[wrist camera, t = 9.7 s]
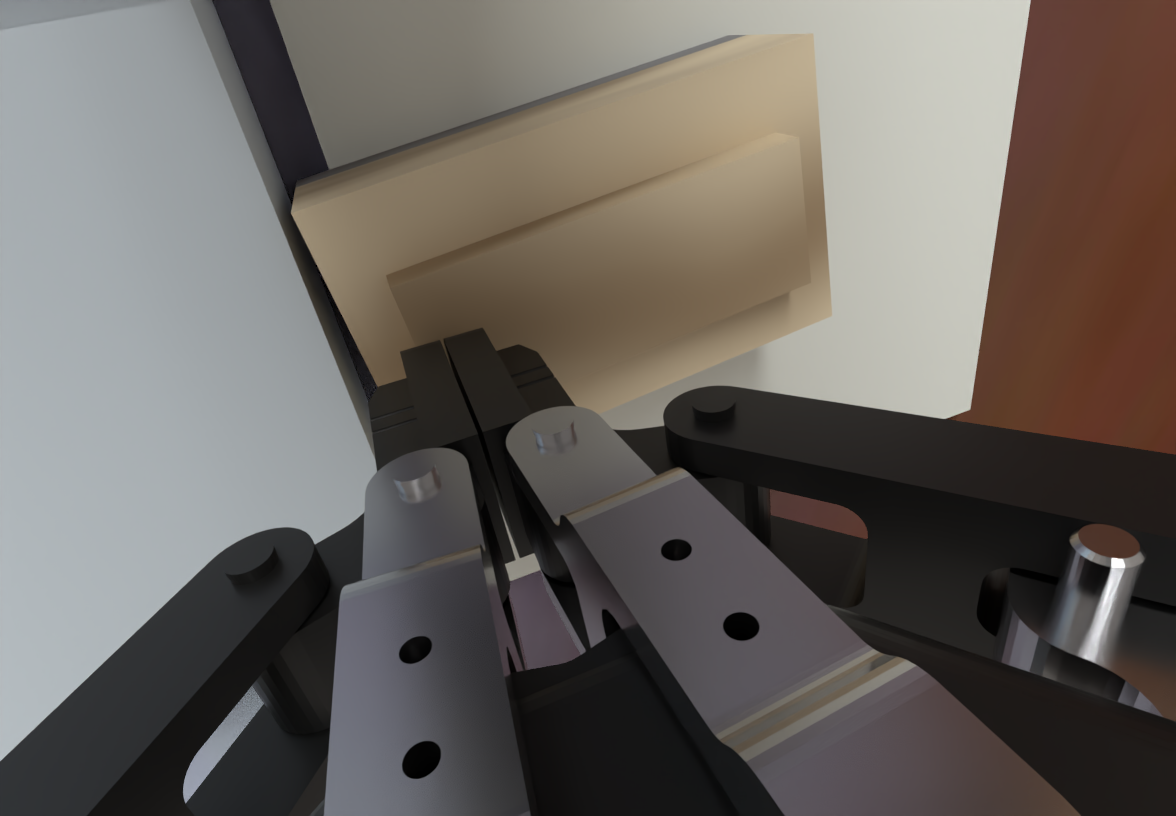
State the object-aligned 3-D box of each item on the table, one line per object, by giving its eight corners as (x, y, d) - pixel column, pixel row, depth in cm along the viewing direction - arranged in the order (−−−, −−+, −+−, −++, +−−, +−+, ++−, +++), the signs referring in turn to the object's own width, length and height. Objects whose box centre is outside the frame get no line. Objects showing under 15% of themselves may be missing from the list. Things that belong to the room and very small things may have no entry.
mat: (210, -173, 12) (205, -183, 11) (1048, -279, 15) (1073, -291, 15) (473, 580, 21) (477, 593, 20) (957, 402, 25) (970, 409, 24)
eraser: (296, 180, 14) (289, 224, 11) (727, 35, 15) (840, 32, 12) (410, 417, 17) (432, 507, 14) (758, 276, 19) (854, 327, 15)
